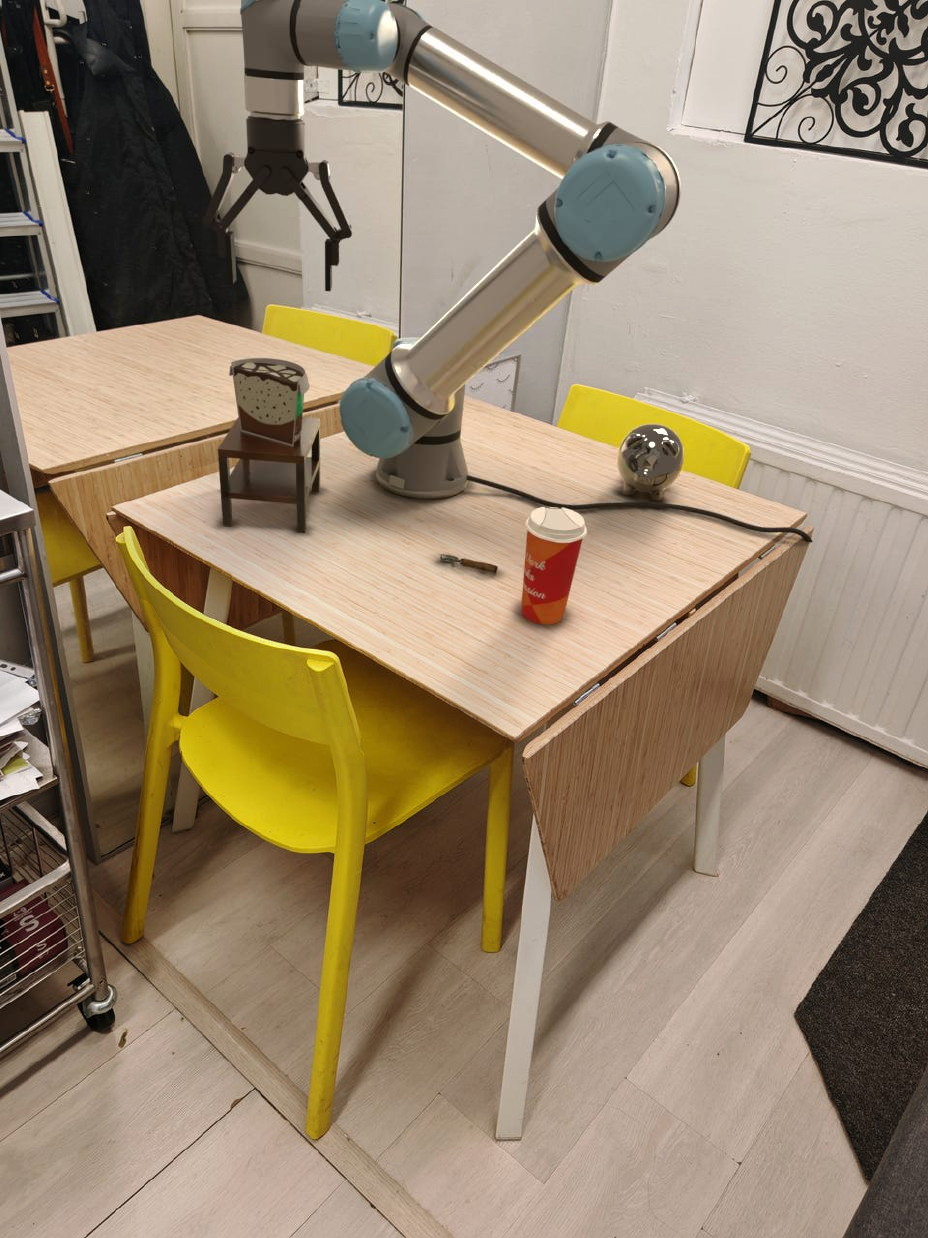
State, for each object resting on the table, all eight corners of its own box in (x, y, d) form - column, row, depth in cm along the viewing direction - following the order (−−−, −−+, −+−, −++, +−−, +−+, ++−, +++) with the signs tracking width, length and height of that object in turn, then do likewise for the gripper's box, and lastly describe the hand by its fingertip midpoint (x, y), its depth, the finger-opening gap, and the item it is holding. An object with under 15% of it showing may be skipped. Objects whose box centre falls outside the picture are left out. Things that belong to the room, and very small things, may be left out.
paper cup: (509, 596, 121) (522, 502, 114) (565, 598, 122) (581, 505, 115) (517, 629, 115) (531, 531, 107) (576, 630, 116) (594, 534, 108)
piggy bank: (604, 502, 149) (616, 437, 143) (617, 469, 162) (629, 408, 155) (671, 516, 147) (686, 450, 141) (679, 481, 159) (693, 419, 153)
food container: (326, 436, 132) (327, 369, 126) (302, 449, 127) (301, 380, 121) (258, 417, 136) (255, 351, 130) (232, 428, 131) (228, 360, 126)
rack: (320, 489, 144) (320, 418, 138) (305, 532, 132) (304, 456, 125) (245, 483, 144) (241, 411, 137) (222, 526, 131) (217, 448, 125)
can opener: (498, 571, 126) (499, 564, 126) (491, 578, 125) (492, 571, 124) (440, 554, 129) (441, 547, 129) (433, 561, 127) (434, 553, 127)
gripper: (373, 121, 121) (369, 285, 132) (184, 105, 119) (197, 273, 130) (370, 126, 114) (366, 298, 126) (170, 109, 113) (185, 284, 124)
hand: (280, 285), depth 128 cm, fingers open, 13 cm apart
